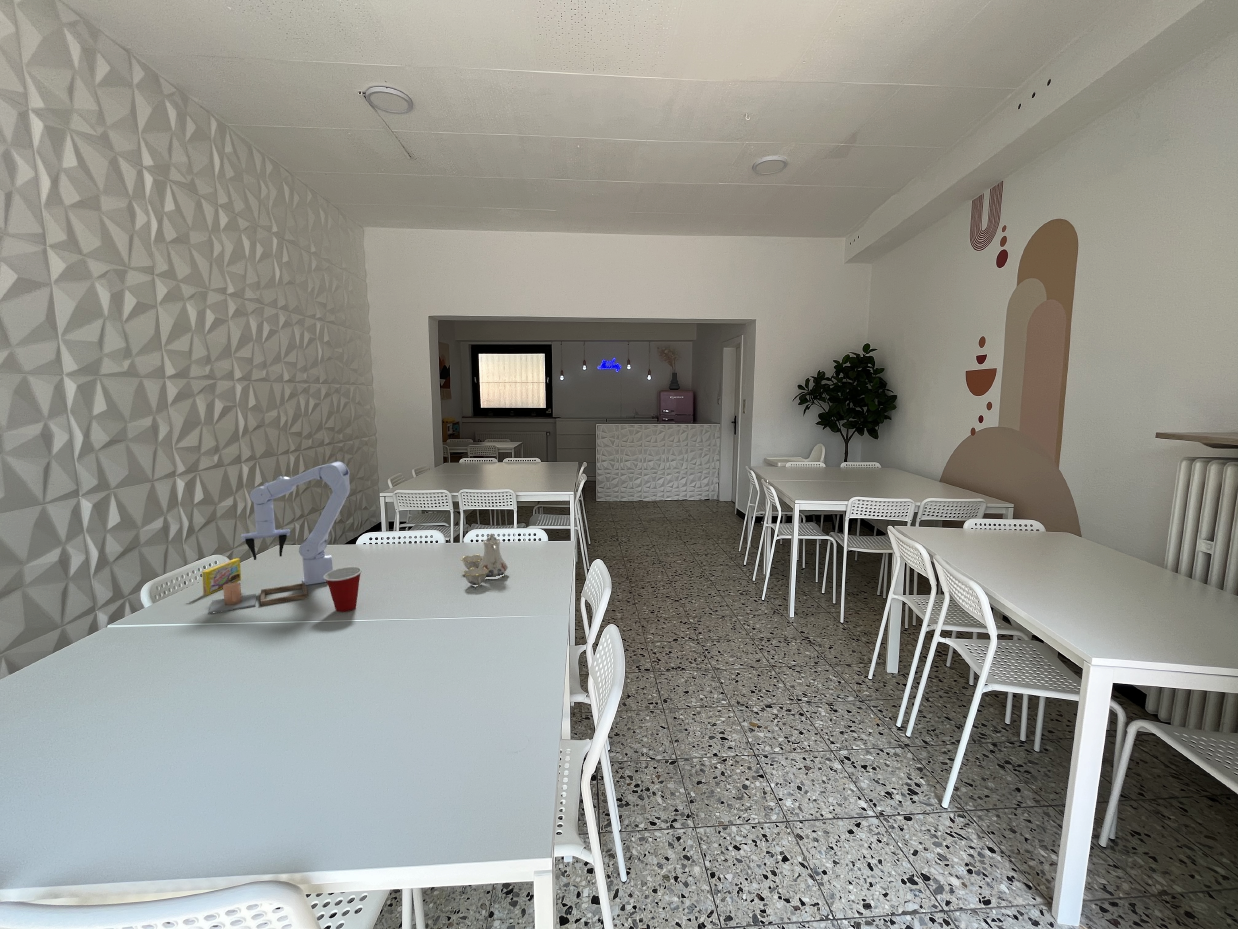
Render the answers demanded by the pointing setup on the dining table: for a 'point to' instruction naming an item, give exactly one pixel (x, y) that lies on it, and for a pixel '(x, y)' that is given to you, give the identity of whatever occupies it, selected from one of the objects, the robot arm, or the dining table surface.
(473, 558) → the chinaware
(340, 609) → the plastic cup
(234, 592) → the peach rounded block
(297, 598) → the frame
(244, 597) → the grey mat
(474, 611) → the dining table surface
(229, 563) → the candy box
